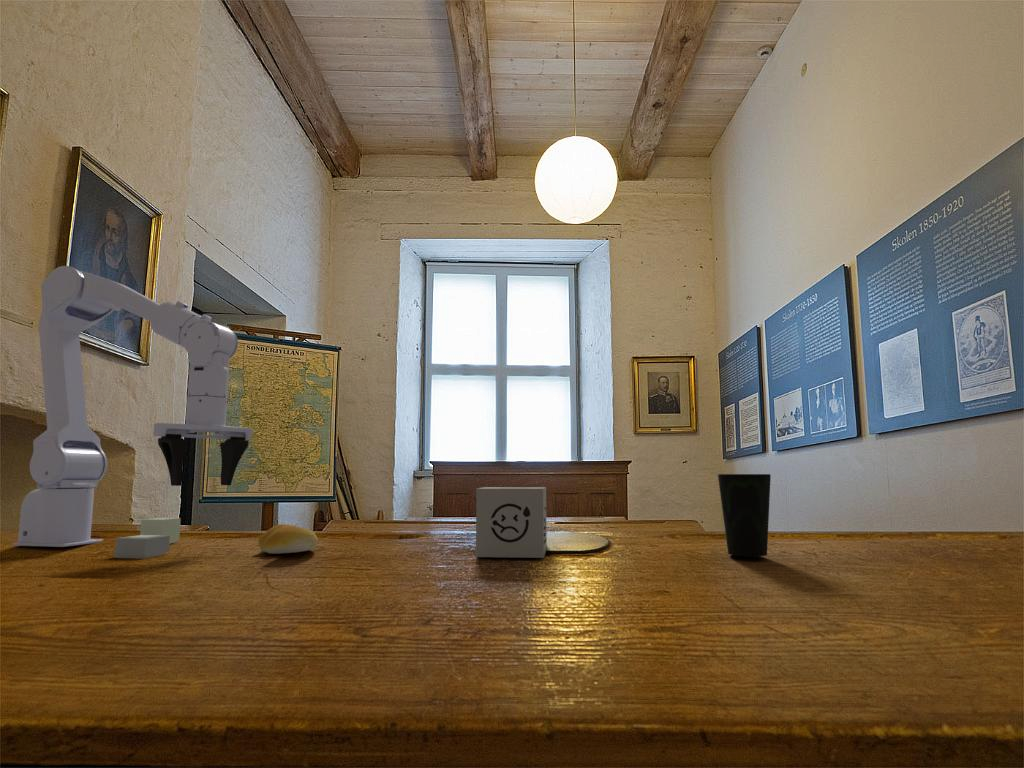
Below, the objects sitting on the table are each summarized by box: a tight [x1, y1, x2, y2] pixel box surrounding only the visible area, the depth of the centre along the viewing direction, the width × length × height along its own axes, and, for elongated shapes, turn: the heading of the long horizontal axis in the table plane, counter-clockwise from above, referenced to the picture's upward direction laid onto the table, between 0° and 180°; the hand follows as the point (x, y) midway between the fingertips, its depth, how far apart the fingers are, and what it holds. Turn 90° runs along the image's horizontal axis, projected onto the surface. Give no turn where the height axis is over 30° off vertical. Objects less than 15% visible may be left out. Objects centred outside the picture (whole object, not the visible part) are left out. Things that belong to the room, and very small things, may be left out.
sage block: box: [139, 517, 181, 544], centre depth 108 cm, size 4×4×5 cm
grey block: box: [114, 534, 170, 559], centre depth 101 cm, size 5×5×3 cm
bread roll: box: [257, 523, 319, 555], centre depth 103 cm, size 8×9×4 cm
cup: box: [717, 473, 772, 557], centre depth 104 cm, size 8×8×12 cm
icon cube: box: [475, 486, 548, 559], centre depth 105 cm, size 10×10×10 cm
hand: (201, 485), depth 105 cm, fingers open, 7 cm apart
